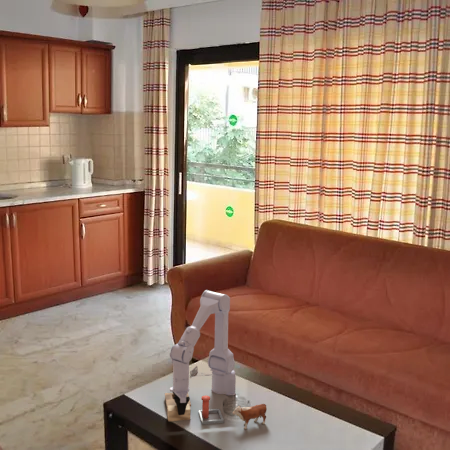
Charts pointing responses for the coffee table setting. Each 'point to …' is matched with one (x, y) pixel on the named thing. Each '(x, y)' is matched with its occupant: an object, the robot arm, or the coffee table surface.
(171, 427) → the coffee table surface
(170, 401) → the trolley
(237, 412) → the bull figurine
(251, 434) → the coffee table surface
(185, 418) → the block
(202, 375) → the bracket
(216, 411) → the grey square frame
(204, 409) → the pin
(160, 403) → the coffee table surface
